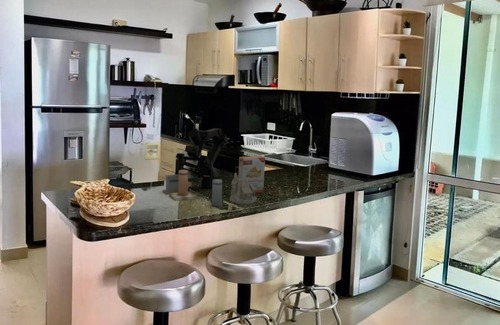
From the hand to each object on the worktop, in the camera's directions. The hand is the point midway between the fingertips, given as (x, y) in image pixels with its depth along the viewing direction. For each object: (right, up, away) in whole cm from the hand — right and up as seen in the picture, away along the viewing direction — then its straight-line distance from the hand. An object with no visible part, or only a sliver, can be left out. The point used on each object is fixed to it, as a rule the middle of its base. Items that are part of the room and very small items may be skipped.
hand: (187, 171), depth 245 cm
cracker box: (+34, -13, +14) cm, 39 cm away
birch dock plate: (-2, -14, -2) cm, 14 cm away
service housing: (-9, -12, +9) cm, 17 cm away
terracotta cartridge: (-2, -12, -2) cm, 13 cm away
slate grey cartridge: (+17, -17, -16) cm, 29 cm away
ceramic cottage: (+31, -16, -3) cm, 35 cm away
